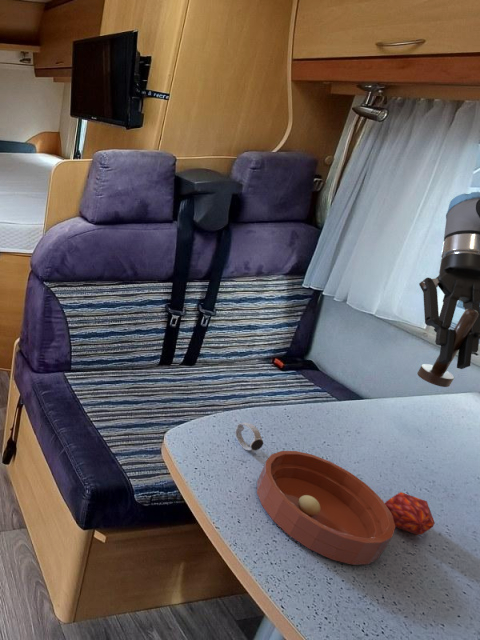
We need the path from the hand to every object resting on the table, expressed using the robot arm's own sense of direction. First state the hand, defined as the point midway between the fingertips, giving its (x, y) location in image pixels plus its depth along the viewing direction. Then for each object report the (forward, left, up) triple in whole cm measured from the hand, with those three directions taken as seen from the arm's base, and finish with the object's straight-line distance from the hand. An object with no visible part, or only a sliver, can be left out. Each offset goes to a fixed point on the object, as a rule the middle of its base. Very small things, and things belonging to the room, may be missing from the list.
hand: (454, 364), depth 90 cm
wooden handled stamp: (0, -4, -6) cm, 7 cm away
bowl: (+19, +34, -20) cm, 44 cm away
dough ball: (+20, +35, -18) cm, 44 cm away
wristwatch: (+30, +23, -20) cm, 43 cm away
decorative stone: (+6, +27, -20) cm, 34 cm away
